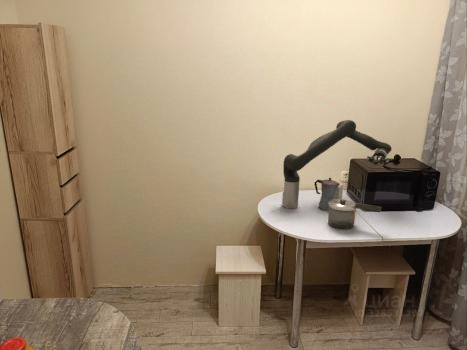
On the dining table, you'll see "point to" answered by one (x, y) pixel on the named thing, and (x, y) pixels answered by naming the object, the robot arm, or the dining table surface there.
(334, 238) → the dining table surface
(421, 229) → the dining table surface
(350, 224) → the cooker pot
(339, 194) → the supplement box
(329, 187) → the moka pot
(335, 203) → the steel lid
